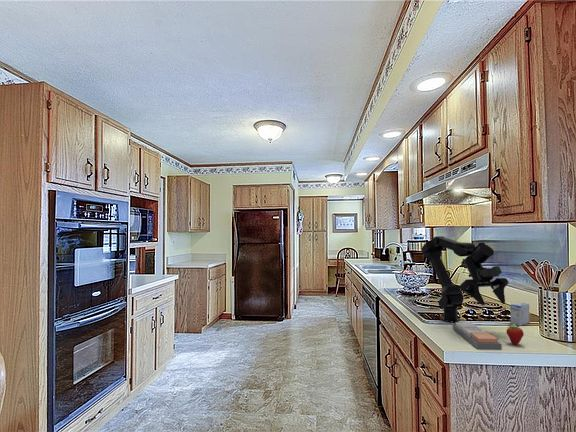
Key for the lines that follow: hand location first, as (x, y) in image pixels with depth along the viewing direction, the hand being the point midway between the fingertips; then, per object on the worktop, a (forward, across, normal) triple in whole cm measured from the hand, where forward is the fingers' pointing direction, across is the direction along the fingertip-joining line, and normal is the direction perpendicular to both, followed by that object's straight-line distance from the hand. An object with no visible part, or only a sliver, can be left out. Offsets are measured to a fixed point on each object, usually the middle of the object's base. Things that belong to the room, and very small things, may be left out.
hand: (494, 304), depth 138 cm
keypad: (+10, -7, +10) cm, 15 cm away
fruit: (+15, +2, +3) cm, 15 cm away
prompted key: (+13, -9, +3) cm, 16 cm away
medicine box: (+2, +26, +20) cm, 33 cm away
